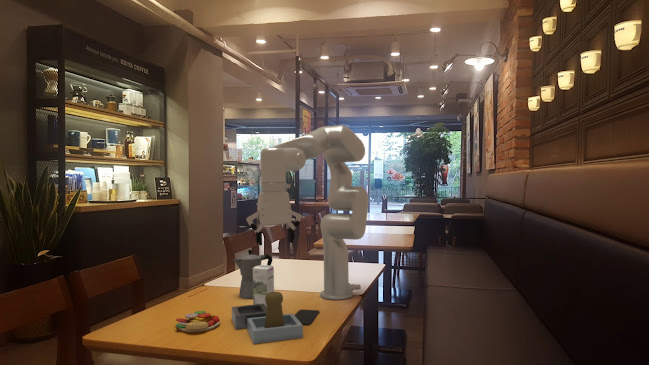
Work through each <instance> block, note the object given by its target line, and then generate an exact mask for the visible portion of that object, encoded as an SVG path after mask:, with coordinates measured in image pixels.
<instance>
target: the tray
mask: <svg viewBox="0 0 649 365" xmlns="http://www.w3.org/2000/svg"><path fill="white" fill-rule="evenodd" d="M294 315H295V314H294V313H284V314H283V319H284V326H281V327H273V328H265V320H266V316H265V317H256V318H247V328H246V329H247V333H248V335H249V337H250V339H251V341H252V343H253V344H252V345H257V344H263V343H271V342H280V341H287V340H296V339H302V338H304V325H302V324H301V323H300V322H299V320H298V319H297V318H296V317H295V316H294Z"/></svg>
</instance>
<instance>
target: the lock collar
mask: <svg viewBox="0 0 649 365" xmlns="http://www.w3.org/2000/svg"><path fill="white" fill-rule="evenodd" d="M266 311H267V304H266V305H264V304H255V305H253V304H248V305H237V306H236V305H235V306H231V322H232V323H233V326H234V329H235V330H242V329H247V318H256V317H265V316H266Z"/></svg>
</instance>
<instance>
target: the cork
mask: <svg viewBox="0 0 649 365" xmlns="http://www.w3.org/2000/svg"><path fill="white" fill-rule="evenodd" d="M265 301H266V303H267V311H266V320H265V328H273V327H281V326H284V319H283V305H282V303H283V301H284V296H283V294H282V292H280V291H274V292H270V293H267V295H266V296H265Z"/></svg>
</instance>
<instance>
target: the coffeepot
mask: <svg viewBox="0 0 649 365" xmlns="http://www.w3.org/2000/svg"><path fill="white" fill-rule="evenodd" d="M247 252H248V254H245V255H242V256H240V257H235V258H234V259H233V262H234V263H235V264H236V265H237V268H239V271H240V276H241V281H240V287H239V294H238V297H239V298H240V299H243V300H244V299H245V300H253V268H254V267H255V266H258V265H262V261H265V260H267V261H266V262H267V263H266V265H268V266H272V264H273V258H272V257H271V256H270V254H259V255H257V254H253V249H249V250H247Z"/></svg>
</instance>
